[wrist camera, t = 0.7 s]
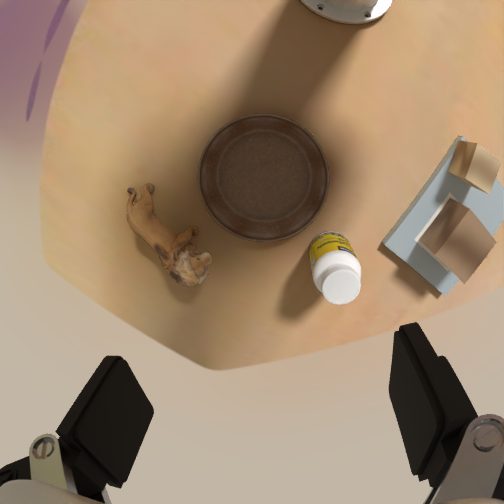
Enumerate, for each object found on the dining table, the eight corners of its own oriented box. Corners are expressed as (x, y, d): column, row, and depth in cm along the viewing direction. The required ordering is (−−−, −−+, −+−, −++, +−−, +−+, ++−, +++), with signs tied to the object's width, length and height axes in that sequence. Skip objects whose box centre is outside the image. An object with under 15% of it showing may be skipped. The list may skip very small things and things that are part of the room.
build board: (458, 135, 30) (463, 136, 29) (509, 201, 32) (514, 203, 30) (381, 241, 37) (384, 245, 35) (441, 292, 39) (445, 296, 37)
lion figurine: (229, 239, 39) (214, 271, 30) (206, 268, 41) (188, 304, 32) (138, 172, 36) (102, 187, 28) (121, 204, 38) (84, 226, 30)
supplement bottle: (352, 230, 37) (372, 265, 28) (347, 269, 39) (362, 311, 30) (309, 228, 37) (317, 263, 28) (306, 268, 39) (312, 310, 30)
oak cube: (458, 140, 29) (477, 143, 25) (481, 156, 29) (501, 161, 25) (447, 171, 31) (465, 178, 27) (470, 186, 31) (489, 194, 27)
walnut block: (450, 197, 32) (469, 208, 27) (477, 228, 33) (496, 242, 28) (418, 239, 35) (435, 255, 30) (448, 266, 36) (464, 284, 31)
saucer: (204, 231, 39) (199, 239, 36) (202, 115, 33) (196, 114, 30) (320, 238, 38) (323, 246, 35) (329, 118, 32) (333, 118, 29)
